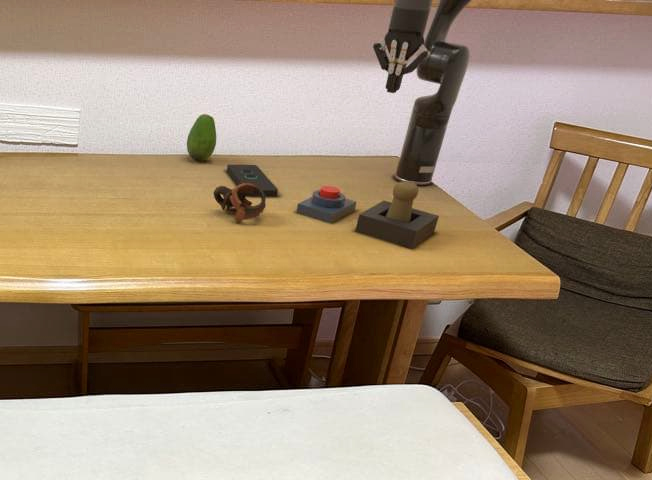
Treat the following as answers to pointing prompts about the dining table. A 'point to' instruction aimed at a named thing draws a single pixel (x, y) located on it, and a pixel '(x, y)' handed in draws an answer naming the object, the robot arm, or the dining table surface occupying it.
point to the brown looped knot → (240, 200)
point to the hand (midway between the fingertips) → (391, 92)
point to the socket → (396, 225)
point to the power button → (329, 192)
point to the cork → (402, 201)
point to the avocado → (202, 138)
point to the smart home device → (252, 179)
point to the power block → (326, 207)
